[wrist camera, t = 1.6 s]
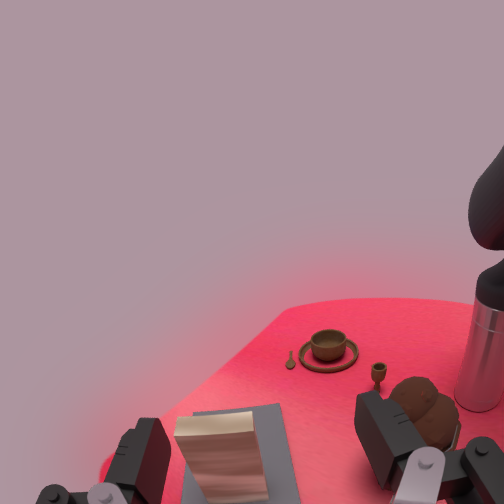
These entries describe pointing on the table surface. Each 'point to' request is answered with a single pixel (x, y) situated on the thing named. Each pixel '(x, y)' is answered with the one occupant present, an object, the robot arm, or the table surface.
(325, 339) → the place setting
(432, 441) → the ice cream bowl
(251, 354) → the table surface
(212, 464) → the tile
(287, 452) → the mat
